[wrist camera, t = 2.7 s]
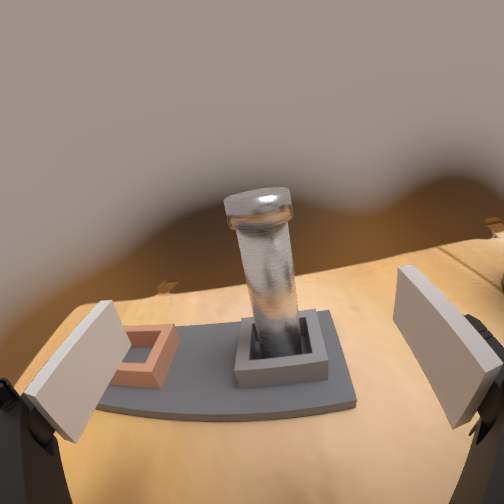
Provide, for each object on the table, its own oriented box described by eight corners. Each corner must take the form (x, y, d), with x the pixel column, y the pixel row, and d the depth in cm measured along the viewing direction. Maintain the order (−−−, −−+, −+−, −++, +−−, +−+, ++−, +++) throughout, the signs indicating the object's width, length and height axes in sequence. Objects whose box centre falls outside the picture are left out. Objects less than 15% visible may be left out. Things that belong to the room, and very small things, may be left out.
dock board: (329, 317, 33) (328, 292, 31) (355, 407, 20) (359, 381, 18) (126, 335, 36) (116, 314, 34) (83, 406, 23) (66, 383, 21)
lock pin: (304, 337, 28) (287, 184, 23) (310, 370, 24) (292, 195, 18) (258, 343, 29) (228, 194, 23) (256, 376, 24) (218, 206, 19)
